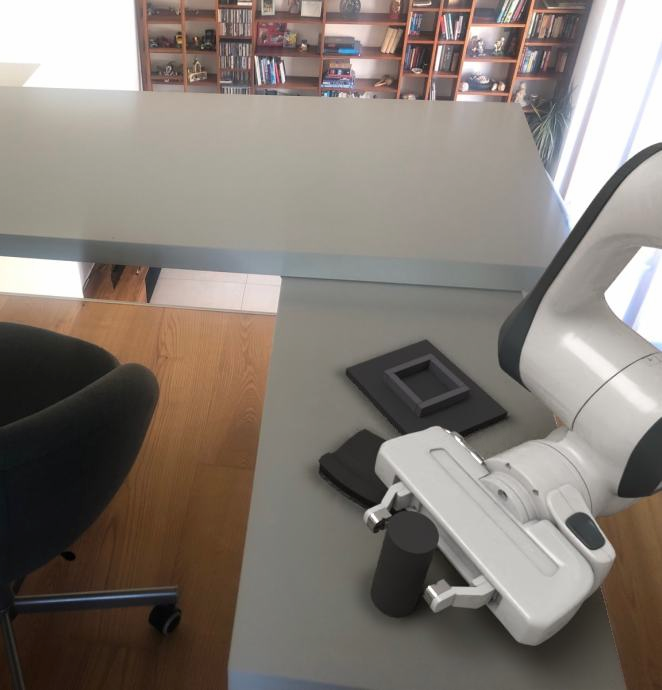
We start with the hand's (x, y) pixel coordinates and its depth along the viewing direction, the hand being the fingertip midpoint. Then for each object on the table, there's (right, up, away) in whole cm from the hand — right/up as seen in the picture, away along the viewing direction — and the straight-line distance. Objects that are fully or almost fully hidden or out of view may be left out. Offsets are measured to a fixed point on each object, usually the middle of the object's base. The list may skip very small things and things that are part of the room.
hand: (397, 560), depth 57 cm
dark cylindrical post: (+1, -5, +5) cm, 7 cm away
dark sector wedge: (+2, +3, +14) cm, 14 cm away
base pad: (+10, +12, +23) cm, 28 cm away
